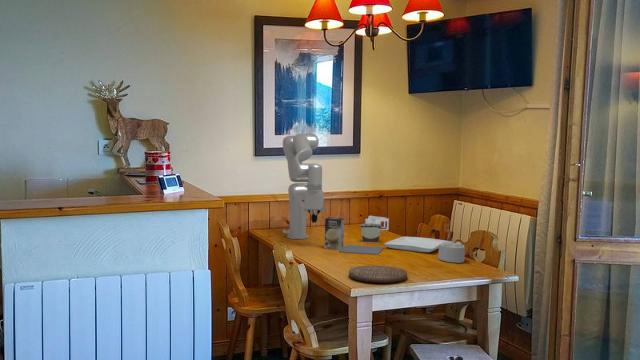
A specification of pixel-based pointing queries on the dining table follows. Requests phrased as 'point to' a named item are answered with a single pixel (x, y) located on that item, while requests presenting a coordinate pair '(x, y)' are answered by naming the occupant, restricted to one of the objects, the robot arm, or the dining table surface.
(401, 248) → the square plate
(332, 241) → the coffee box
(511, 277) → the dining table surface
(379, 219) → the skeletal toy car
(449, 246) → the lumpy-topped squat cylinder
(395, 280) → the trivet
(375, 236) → the food container
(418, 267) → the dining table surface
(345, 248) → the mat
